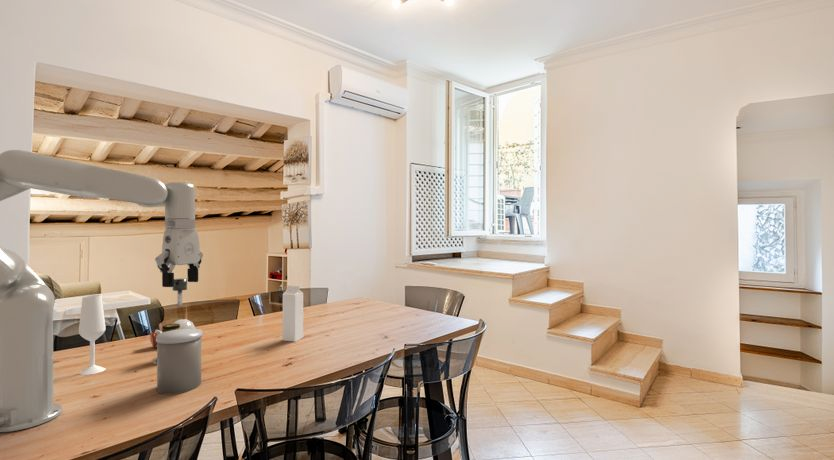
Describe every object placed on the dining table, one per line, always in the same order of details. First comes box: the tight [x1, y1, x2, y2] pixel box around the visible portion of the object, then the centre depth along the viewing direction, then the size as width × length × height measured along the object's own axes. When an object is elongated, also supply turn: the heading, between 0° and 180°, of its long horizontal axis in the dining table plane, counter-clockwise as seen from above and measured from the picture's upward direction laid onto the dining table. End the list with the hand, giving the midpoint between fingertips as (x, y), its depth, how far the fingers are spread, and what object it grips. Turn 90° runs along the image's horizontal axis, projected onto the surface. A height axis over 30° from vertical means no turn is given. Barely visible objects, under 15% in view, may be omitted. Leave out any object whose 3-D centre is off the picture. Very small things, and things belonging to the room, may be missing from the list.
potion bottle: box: [149, 318, 196, 349], centre depth 156 cm, size 9×10×15 cm
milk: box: [282, 285, 304, 342], centre depth 165 cm, size 6×6×22 cm
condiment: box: [153, 323, 180, 365], centre depth 139 cm, size 7×8×12 cm
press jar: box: [156, 328, 204, 395], centre depth 116 cm, size 13×12×15 cm
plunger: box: [172, 278, 188, 306], centre depth 116 cm, size 4×4×8 cm
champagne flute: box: [78, 294, 106, 376], centre depth 127 cm, size 7×7×24 cm
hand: (181, 284), depth 116 cm, fingers open, 9 cm apart
